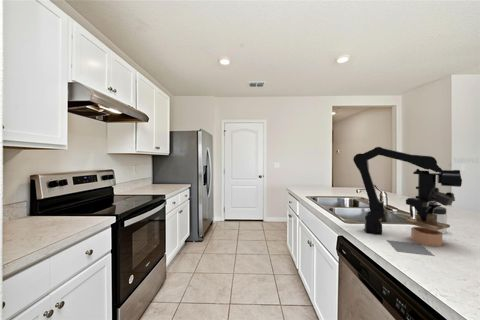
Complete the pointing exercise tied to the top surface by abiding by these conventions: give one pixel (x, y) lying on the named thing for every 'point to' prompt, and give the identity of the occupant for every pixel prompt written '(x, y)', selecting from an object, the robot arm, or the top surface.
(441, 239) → the bowl
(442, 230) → the jar
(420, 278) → the top surface
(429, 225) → the ridged wooden block
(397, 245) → the mat
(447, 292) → the top surface
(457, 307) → the top surface
